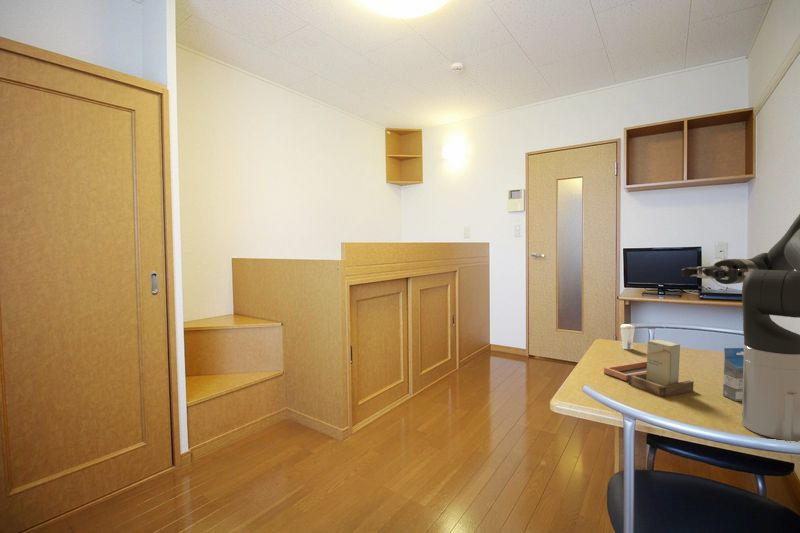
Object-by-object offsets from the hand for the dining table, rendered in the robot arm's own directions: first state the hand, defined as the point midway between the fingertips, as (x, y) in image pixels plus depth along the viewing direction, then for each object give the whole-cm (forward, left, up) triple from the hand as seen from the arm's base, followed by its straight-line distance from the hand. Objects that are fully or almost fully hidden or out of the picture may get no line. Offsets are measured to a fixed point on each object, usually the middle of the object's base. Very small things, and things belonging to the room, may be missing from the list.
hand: (697, 273), depth 109 cm
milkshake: (+28, -7, -30) cm, 42 cm away
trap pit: (+7, +14, -30) cm, 34 cm away
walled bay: (-3, +18, -30) cm, 35 cm away
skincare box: (-3, +18, -30) cm, 35 cm away
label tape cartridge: (-16, +6, -30) cm, 35 cm away
